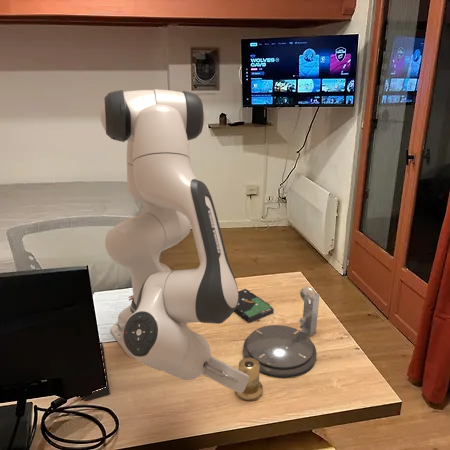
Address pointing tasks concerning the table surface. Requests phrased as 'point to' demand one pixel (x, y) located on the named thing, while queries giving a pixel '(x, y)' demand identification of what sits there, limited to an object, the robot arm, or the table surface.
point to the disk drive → (252, 307)
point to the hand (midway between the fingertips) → (218, 369)
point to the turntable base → (283, 373)
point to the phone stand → (106, 390)
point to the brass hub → (250, 380)
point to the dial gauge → (309, 310)
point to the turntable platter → (280, 347)
